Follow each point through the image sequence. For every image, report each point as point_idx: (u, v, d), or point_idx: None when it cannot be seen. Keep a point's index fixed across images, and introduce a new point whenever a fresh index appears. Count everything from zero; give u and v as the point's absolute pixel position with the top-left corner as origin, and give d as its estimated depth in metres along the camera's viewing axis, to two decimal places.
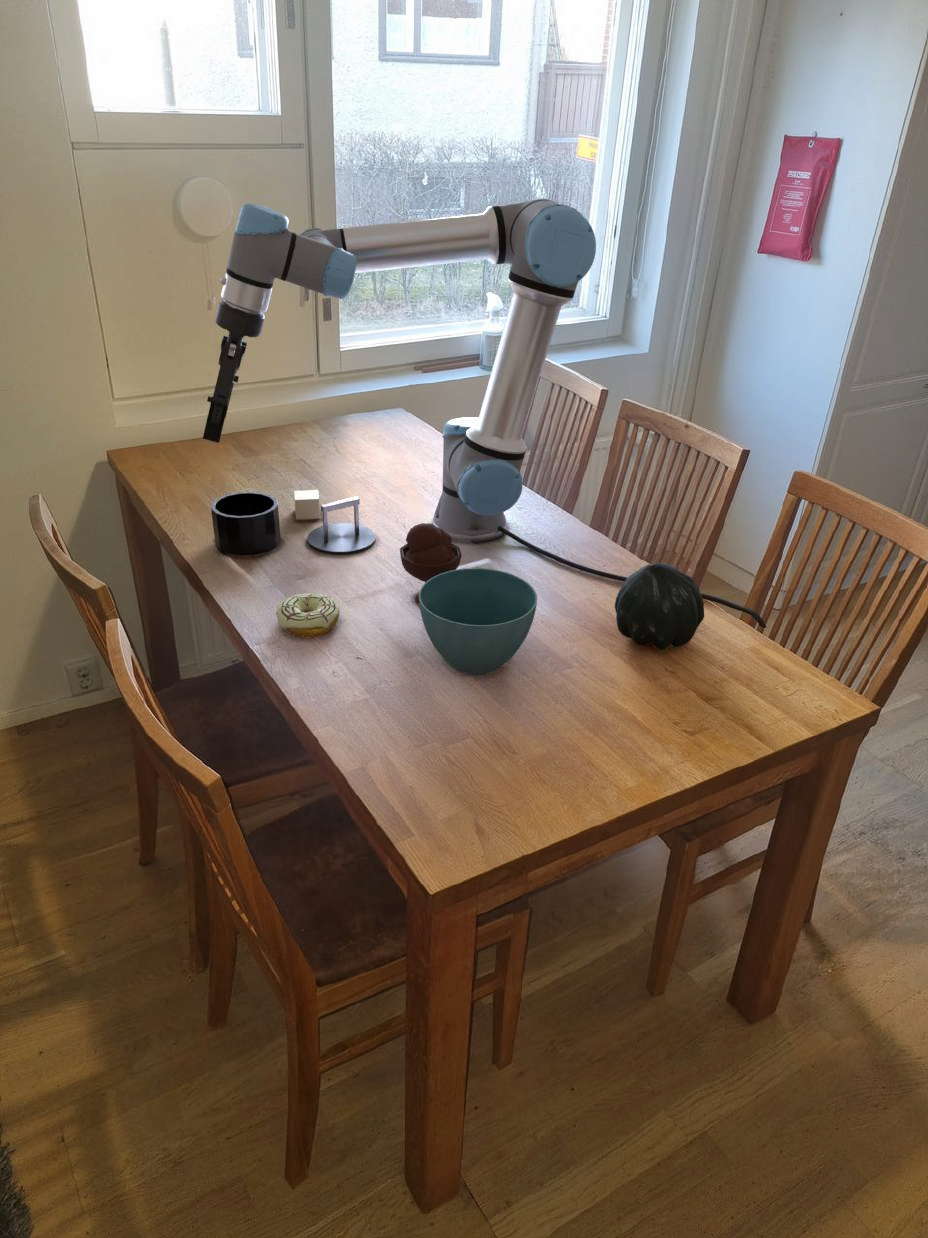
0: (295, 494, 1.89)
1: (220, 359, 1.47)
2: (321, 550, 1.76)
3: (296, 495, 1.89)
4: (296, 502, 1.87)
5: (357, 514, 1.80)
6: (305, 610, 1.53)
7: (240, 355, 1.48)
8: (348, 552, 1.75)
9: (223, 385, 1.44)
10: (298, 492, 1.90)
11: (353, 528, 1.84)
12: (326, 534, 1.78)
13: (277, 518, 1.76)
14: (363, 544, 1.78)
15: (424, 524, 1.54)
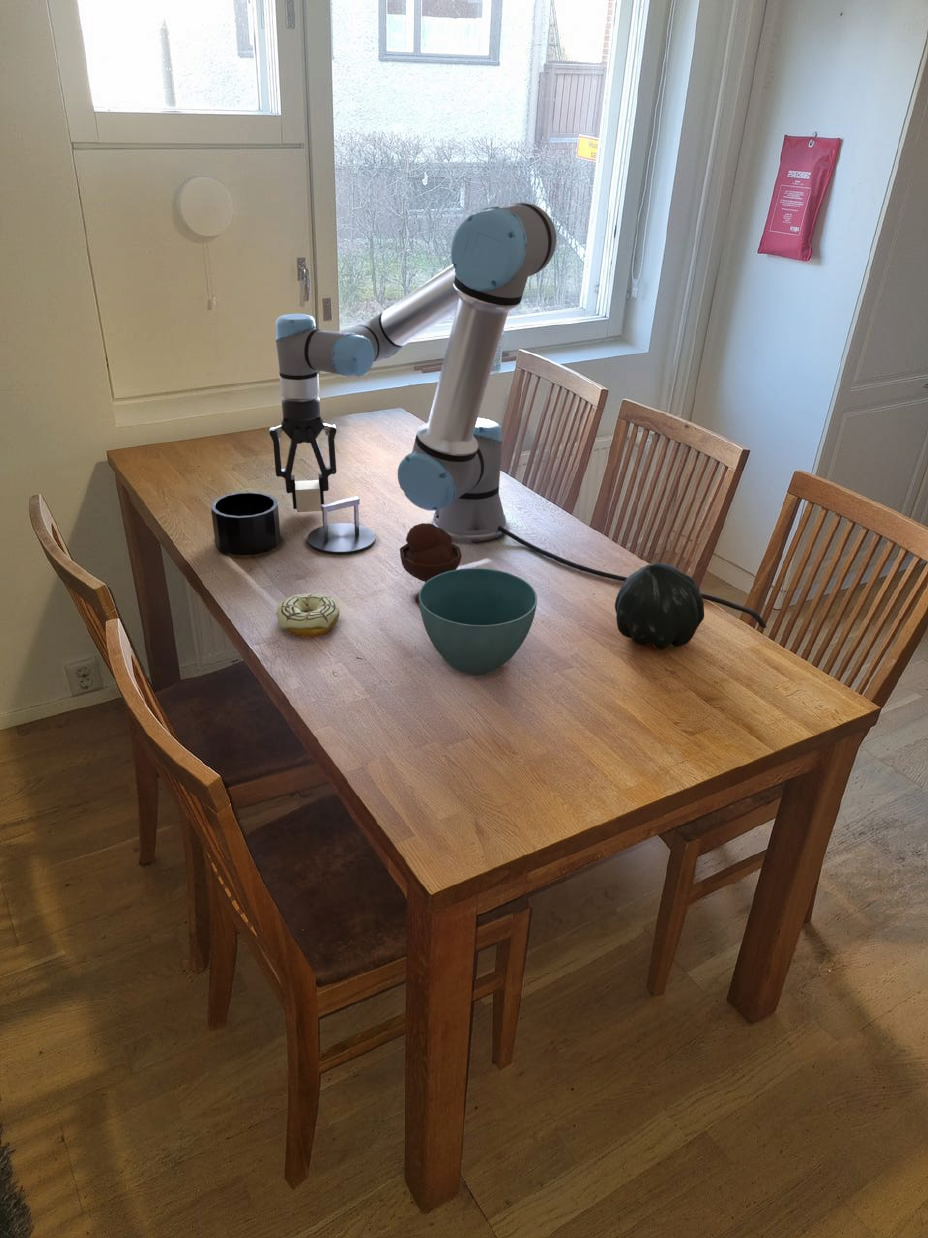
0: (296, 484, 1.88)
1: None
2: (321, 550, 1.76)
3: (297, 485, 1.88)
4: (297, 492, 1.86)
5: (357, 514, 1.80)
6: (305, 610, 1.53)
7: (292, 437, 1.81)
8: (348, 552, 1.75)
9: None
10: (299, 482, 1.89)
11: (353, 528, 1.84)
12: (326, 534, 1.78)
13: (277, 518, 1.76)
14: (363, 544, 1.78)
15: (424, 524, 1.54)
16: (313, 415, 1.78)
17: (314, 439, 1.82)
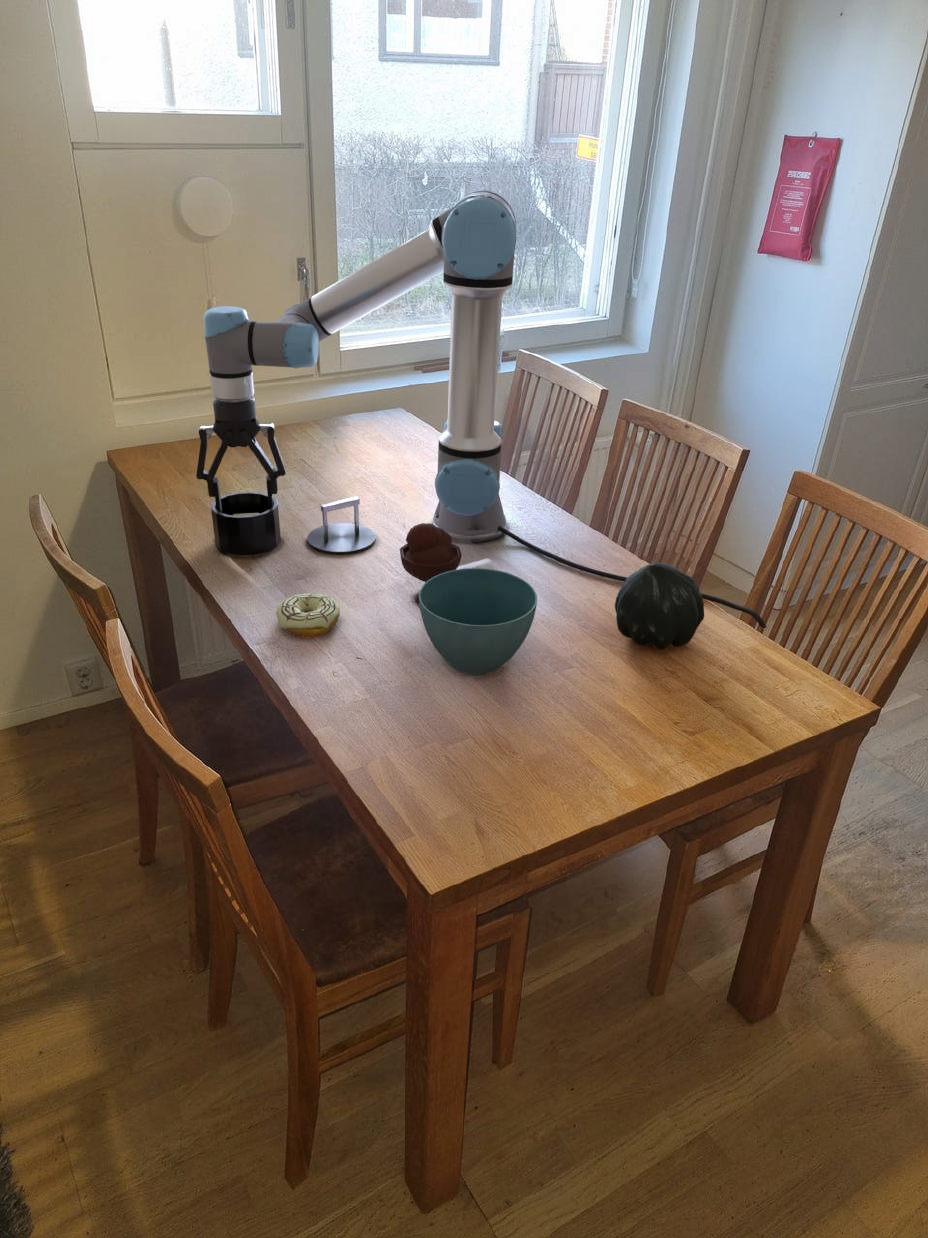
0: None
1: None
2: (321, 550, 1.76)
3: None
4: None
5: (357, 514, 1.80)
6: (305, 610, 1.53)
7: (223, 439, 1.67)
8: (348, 552, 1.75)
9: None
10: (237, 515, 1.78)
11: (353, 528, 1.84)
12: (326, 534, 1.78)
13: (277, 518, 1.76)
14: (363, 544, 1.78)
15: (424, 524, 1.54)
16: (247, 417, 1.64)
17: (249, 443, 1.68)
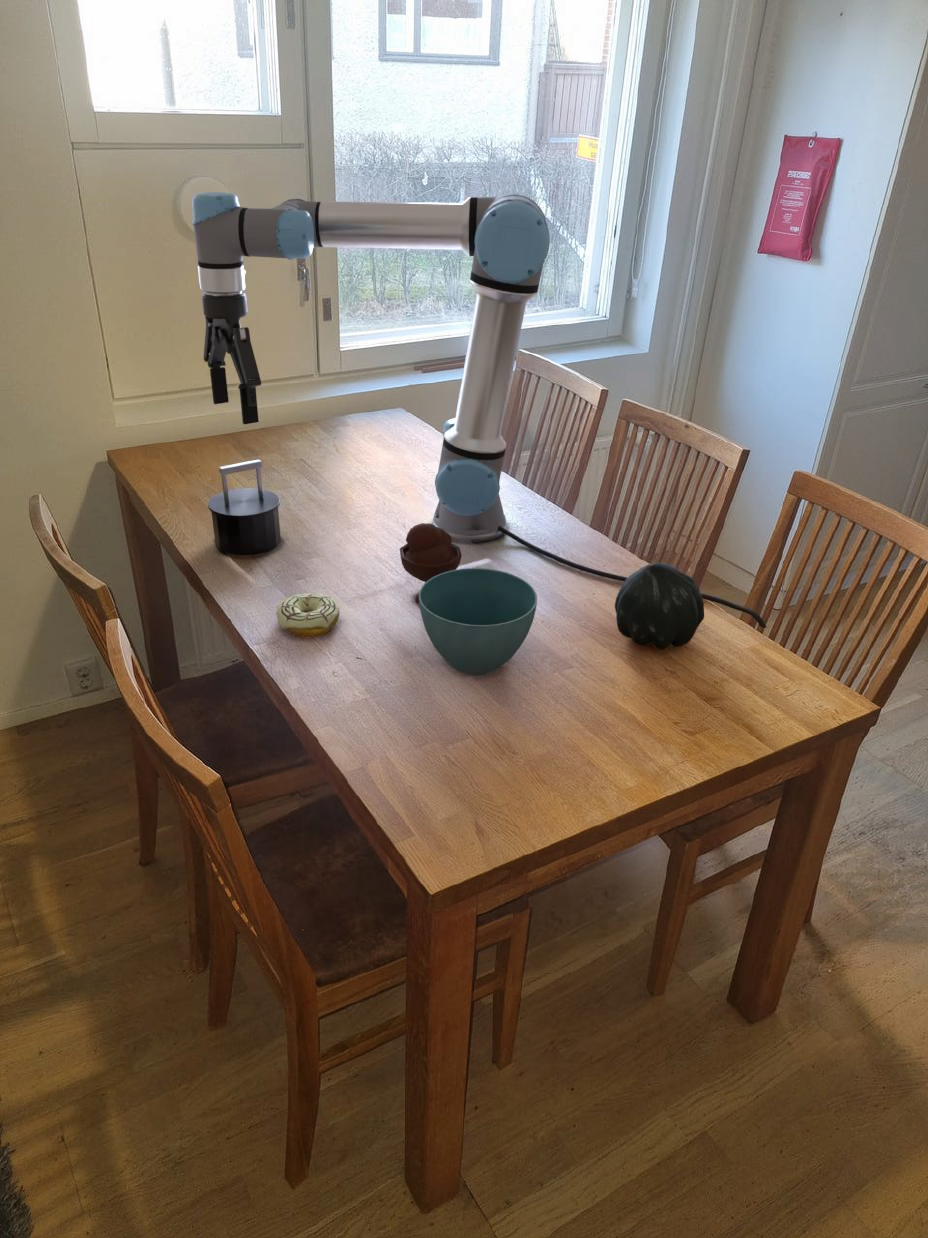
0: None
1: None
2: (220, 514, 1.70)
3: None
4: None
5: (260, 478, 1.74)
6: (305, 610, 1.53)
7: None
8: (248, 516, 1.70)
9: None
10: None
11: (258, 493, 1.79)
12: (226, 498, 1.72)
13: (277, 518, 1.76)
14: (265, 508, 1.72)
15: (424, 524, 1.54)
16: (213, 314, 1.54)
17: (224, 344, 1.57)
